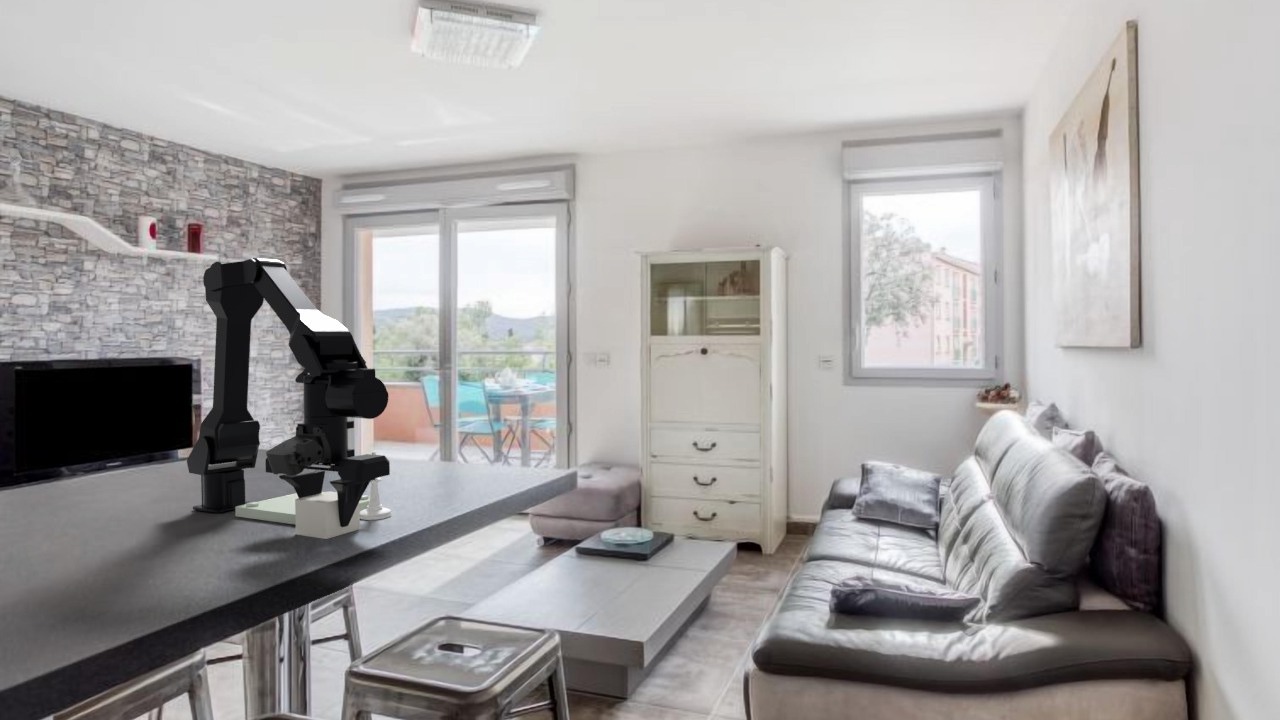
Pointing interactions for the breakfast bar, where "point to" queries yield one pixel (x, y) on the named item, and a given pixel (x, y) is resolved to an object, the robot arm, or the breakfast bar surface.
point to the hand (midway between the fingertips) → (328, 524)
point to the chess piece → (375, 504)
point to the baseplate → (280, 509)
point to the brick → (322, 516)
